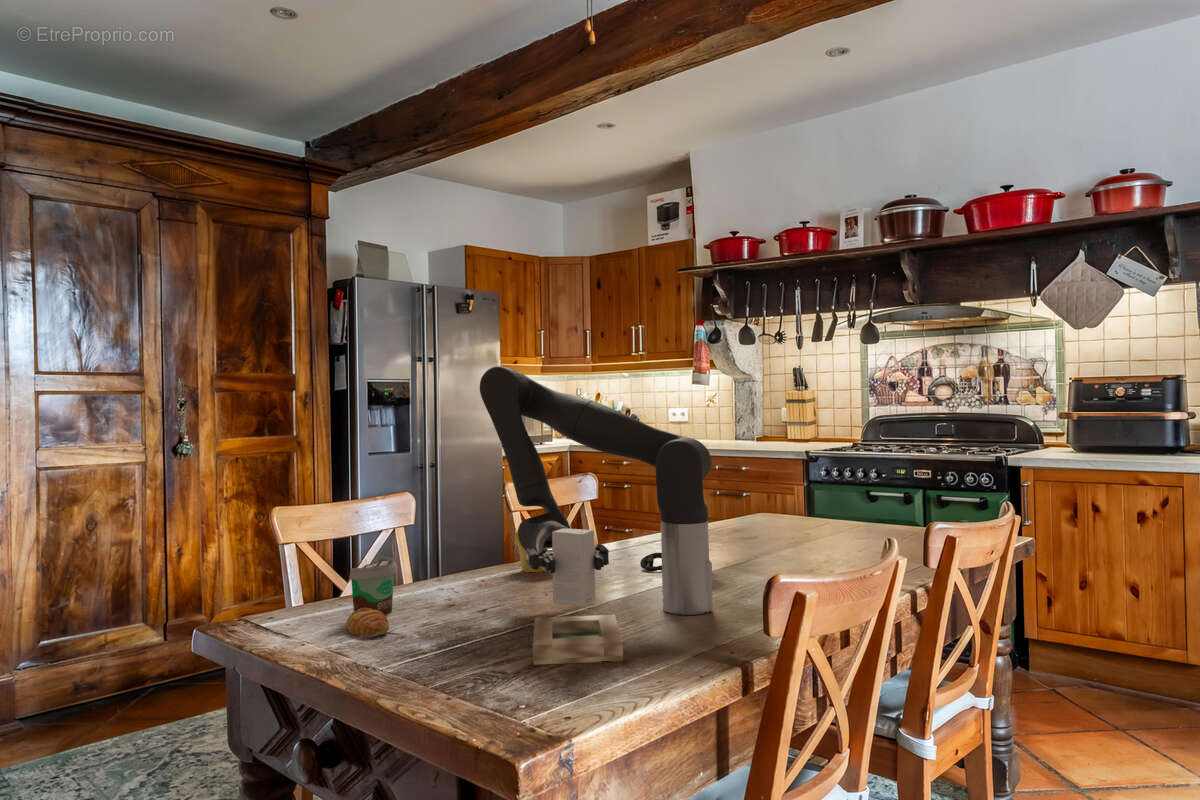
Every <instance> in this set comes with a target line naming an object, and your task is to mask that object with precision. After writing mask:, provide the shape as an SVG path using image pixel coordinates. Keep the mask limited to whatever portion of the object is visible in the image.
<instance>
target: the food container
mask: <svg viewBox="0 0 1200 800" xmlns="http://www.w3.org/2000/svg"><path fill="white" fill-rule="evenodd" d="M395 573H398V566H397V563H396V561H395V559H394V558H391V557H387V556H379V557H378V561H377V562H374V563H369V564H365V565H363V566H362V567H354V568H353V567H351V568H350V572H349V581H351V591H352V603H353V604H352V607H353V612H355V611H357V610H358V609H360V608H370V609H372V610H379V611H380V612H382V613H383V614H384V615H385V616H388V615H389V613H390V614H391V613H392V612H393V599H394V597H393V596H394V581H395ZM387 614H388V615H387Z"/></svg>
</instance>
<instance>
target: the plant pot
mask: <svg viewBox="0 0 1200 800" xmlns="http://www.w3.org/2000/svg"><path fill="white" fill-rule="evenodd" d="M514 544H515V546H517V549H518V551H517V552H518V554H519V560H520V564H521V569H522V571H523V572H524V571H527V572H526V573H529V572H540V573H542V572H541V571H546V572H548V571H547V570H545V569H543V567H542V566H539V569H536V570H534V569H532V568H531V567H530V566H529V565H528V564H527V551H525V550H524V548H523V547H522V546H521V544H520V542H519V539H518V529H516V530H515V531H514Z"/></svg>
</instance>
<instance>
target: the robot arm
mask: <svg viewBox="0 0 1200 800" xmlns="http://www.w3.org/2000/svg"><path fill="white" fill-rule="evenodd" d="M479 394H480V396H481V399H482V402H483V405H484V406H485V408H486V410H487V413H488V415H489V417H490V420H491V422H492V424H493V426H494V429H495V432H496V434H497V437H498V438H499V441H500V444H501V447H502V450H503V452H504V455H505V458H506V463H507V465H508V469H509V472H510V476H511V480H512V483H513V487H514V491H515V495H516V497H517V498H516V499H517V501H518V503H519V505H520V506H522V507H540V508H542V509H543V510H545V512H546V513H542V514H539V515H536V516H531V517H529V518H526V519H524V520H522V521H521V522H520V524H519V525H518V528H517V530H518V539H519V542H520V544H521V546H522V547H523V548H524V550H525V551H527V564H528V565H529V566H530V567H531V568H532V569H534V570H536V569H539V566H542V567H543V569H545V570H547V571H546V572H548V571H549V573H550V574H553V573H555V559H554V558H553V550H552V532H553V531H557V530H560V529H563V528H567V529H571V526H570V523H569V521H568V519H567V517H566V516H565V515H564V513H563V512H562V510H561V508H560V506H559V505H558V503H557V502H556V499H555V498H554V495H553V494H552V490H551V488H550V484H549V481H548V477H547V473H546V470H545V467H544V463H543V461H542V458H541V456H540V454H539V452H538V449H537V448H536V446H535V444H534V442H533V440H532V439H531V437H530V434H529V433H528V431H527V428H526V427H525V424H524V423H525V422H524V421H523V418H522V417H526V418H529V419H531V420H536V421H539V422H541V423H543V424H544V425H547V426H548V427H550V428H551V429H552V430H554V431H555V432H557V433H558V434H560V435H562V436H564V437H566V438H567V439H569V440H571V441H573V442H575V443H577V444H580V445H583V446H585V447H587V448H590V449H592V450H594V451H597V452H602V453H605V454H610V455H613V456H619V457H622V458H623V457H624V458H629V459H634V460H637V461H640V462H643V463H645V464H648V465H650V466H653V467H654V468H655V485H656V488H655V489H656V501H657V507H658V509H659V512H660V536H661V537H660V538H661V539H660V541H661V542H660V543H661V545H660V546H661V548H660V549H661V553H662V558H661V565H662V570H661V581H662V583H661V587H662V598H661V599H662V610H663V611H664V612H666V613H668V612H669V614H672V613H673V614H672V615H679V614H681V616H689V615H690V616H692V615H694V616H695V615H701V614H706V613H712V611H713V612H714V608H713V607H714V605H713V604H714V603H713V600H714V598H713V596H714V595H713V566H712V565H713V563H712V561H711V560H710V543H709V542H710V539H709V537H710V536H709V535H710V534H709V508H708V506H707V505H706V503H705V497H704V484H703V483H704V482H703V481H704V480H703V479H704V478H706V477H707V476H708V474H709V472H711V468H712V463H713V462H712V456H711V454H710V451H709V450H708V449H707V447H706V445H704V443H702V442H701V441H699V440H697V439H695V438H691V437H687V436H683V435H680V434H675V433H673V432H672V433H671V432H668V431H666V430H661V429H658V428H655V427H653V426H651V425H648V424H646V423H644V422H642V421H640V420H639V419H636V418H634V417H632V416H630V415H628V414H626V413H623V412H621V411H618V410H616V409H614V408H611V407H610V406H607V405H605V404H603V403H600V402H597V401H594V400H591V399H588V398H586V397H585V398H584V397H583V396H578V395H574V394H569V393H564V392H560V391H557V390H554V389H551V388H550V387H547V386H546V385H543V384H542V383H539V382H537V381H535V380H534V379H531V378H530V377H528V376H527V375H525V374H524V373H522V372H520V371H519V370H518V371H517V370H514V369H512V368H509V367H507V366H506V367H505V366H502V365H501V366H499V365H497V366H493V367H490V368H488V369H487V370H486V371H485V372H484V374H483V375H482V376H481V378H480V382H479ZM609 552H610V551H609V549H608V548H607V547H606V546H605V545H604V544H602V543H599V544H596V545H594V558H595V570H596V571H601V570H602V568H604V566H607V565H608V566H609V563H610V561H609ZM710 611H711V612H710ZM705 612H706V613H705Z"/></svg>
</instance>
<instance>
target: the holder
mask: <svg viewBox="0 0 1200 800" xmlns="http://www.w3.org/2000/svg"><path fill="white" fill-rule="evenodd" d="M534 618H535V619H534V629H533V639H532V640H533V641H532V642H533V643H532V659H533V660H532V662H533V663H532V664H533V665H535V666H537V665H556V664H557V665H558V664H559V665H560V664H562V665H564V664H581V663H586V664H587V663H602V662H601V661H612V662H624V645H623V644H624V643H623V642H624V641H623V637H622V635H621V631H620V629H619V626H618V621H617V617H616V615H615V614H603V615H602V614H600V615H599V614H598V615H575V616H574V615H573V616H568V615H567V616H547V617H544V616H543V617H534Z"/></svg>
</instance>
